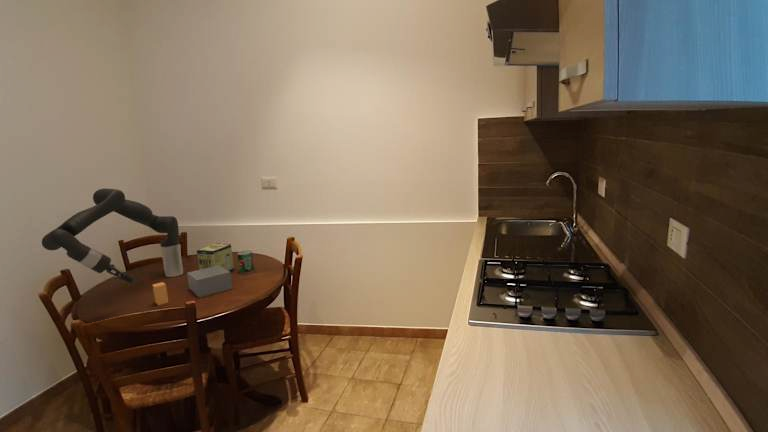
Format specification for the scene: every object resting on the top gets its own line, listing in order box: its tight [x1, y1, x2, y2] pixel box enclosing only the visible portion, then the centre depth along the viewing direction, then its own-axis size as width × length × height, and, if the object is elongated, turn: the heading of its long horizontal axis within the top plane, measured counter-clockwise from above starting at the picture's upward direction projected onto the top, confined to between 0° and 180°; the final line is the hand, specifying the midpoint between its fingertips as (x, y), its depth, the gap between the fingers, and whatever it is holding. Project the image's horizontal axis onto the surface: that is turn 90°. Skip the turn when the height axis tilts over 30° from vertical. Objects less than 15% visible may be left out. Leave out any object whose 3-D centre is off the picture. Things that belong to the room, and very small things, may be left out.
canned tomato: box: [237, 250, 255, 275], centre depth 245 cm, size 8×8×11 cm
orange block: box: [152, 281, 169, 306], centre depth 205 cm, size 4×4×9 cm
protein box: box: [196, 242, 235, 273], centre depth 242 cm, size 10×16×16 cm
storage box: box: [186, 265, 233, 298], centre depth 220 cm, size 16×16×9 cm
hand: (129, 279), depth 195 cm, fingers open, 8 cm apart
